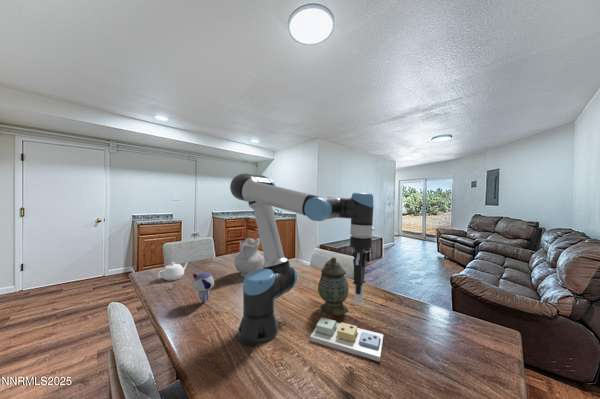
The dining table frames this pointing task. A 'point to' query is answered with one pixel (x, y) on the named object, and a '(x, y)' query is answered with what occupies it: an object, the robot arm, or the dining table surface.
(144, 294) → the dining table surface
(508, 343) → the dining table surface
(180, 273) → the teapot
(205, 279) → the toy
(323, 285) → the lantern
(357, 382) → the dining table surface
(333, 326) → the tile one
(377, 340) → the tile three
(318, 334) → the panel
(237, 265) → the ceramic pitcher
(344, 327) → the tile two
